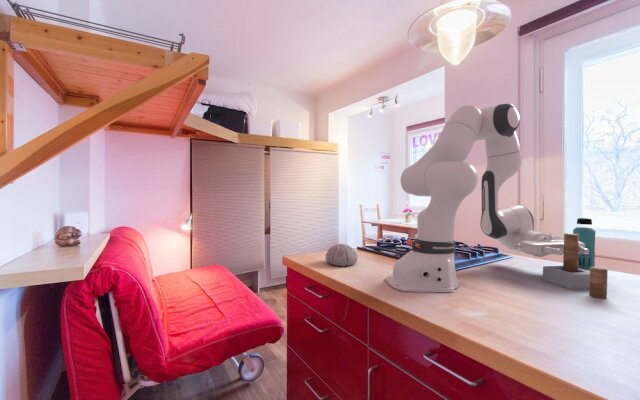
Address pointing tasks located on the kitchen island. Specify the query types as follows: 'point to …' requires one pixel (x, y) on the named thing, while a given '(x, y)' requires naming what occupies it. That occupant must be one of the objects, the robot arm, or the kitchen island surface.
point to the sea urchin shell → (341, 255)
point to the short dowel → (598, 282)
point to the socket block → (567, 277)
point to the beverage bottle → (586, 243)
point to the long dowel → (571, 252)
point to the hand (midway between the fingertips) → (573, 252)
